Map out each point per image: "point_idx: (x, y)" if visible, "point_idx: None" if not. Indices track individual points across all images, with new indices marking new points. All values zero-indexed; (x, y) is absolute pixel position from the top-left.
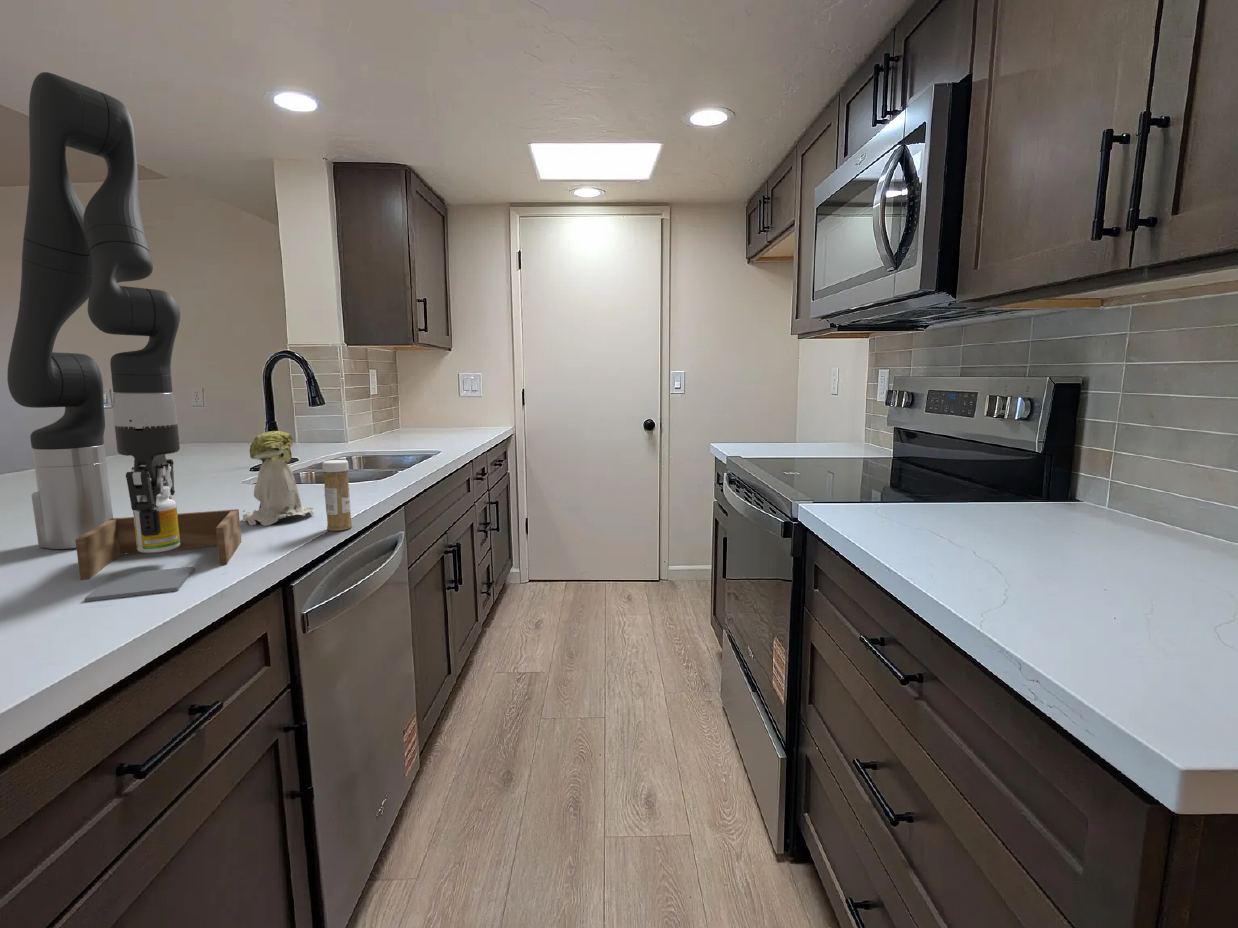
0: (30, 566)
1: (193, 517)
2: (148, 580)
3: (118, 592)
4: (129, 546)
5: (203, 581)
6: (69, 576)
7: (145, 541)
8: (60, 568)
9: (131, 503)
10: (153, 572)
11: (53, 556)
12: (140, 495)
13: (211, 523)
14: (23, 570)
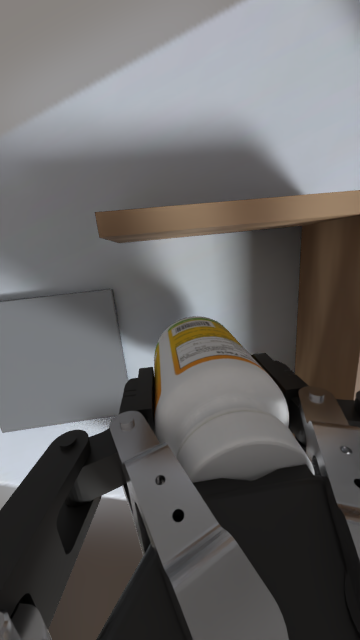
0: (275, 36)
1: (344, 394)
2: (54, 372)
3: None
4: (311, 244)
5: None
6: (150, 189)
7: (155, 357)
8: (227, 133)
9: (38, 464)
10: (108, 360)
11: (356, 54)
12: (126, 481)
13: None
14: (240, 37)
